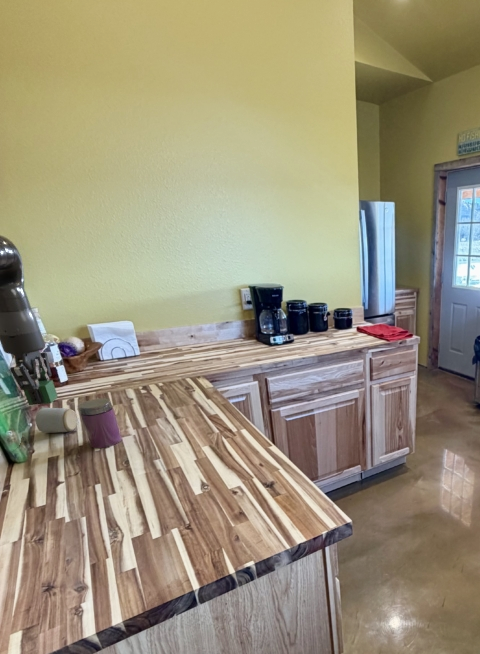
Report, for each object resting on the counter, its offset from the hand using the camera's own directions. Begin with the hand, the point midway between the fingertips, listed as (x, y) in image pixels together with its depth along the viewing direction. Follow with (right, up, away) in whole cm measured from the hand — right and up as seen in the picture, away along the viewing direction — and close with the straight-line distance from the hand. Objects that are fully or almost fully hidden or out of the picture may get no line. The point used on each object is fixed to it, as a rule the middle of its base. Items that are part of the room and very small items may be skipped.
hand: (43, 399), depth 101 cm
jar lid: (+2, -1, +16) cm, 16 cm away
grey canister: (-17, -8, +28) cm, 34 cm away
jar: (+2, -11, +21) cm, 24 cm away
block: (0, 0, 0) cm, 0 cm away
